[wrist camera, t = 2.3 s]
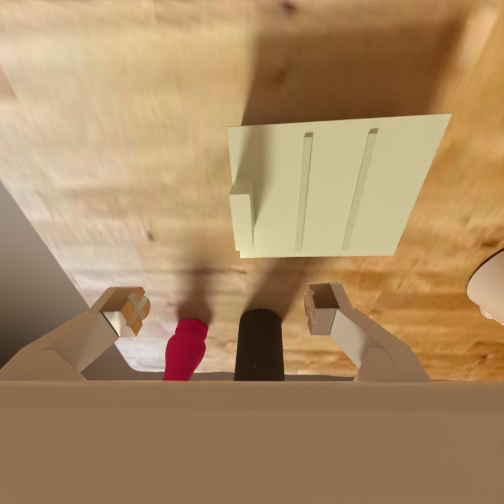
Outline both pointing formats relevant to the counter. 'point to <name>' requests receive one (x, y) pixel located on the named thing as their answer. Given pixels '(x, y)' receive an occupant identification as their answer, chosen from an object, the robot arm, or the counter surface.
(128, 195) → the counter surface
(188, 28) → the counter surface
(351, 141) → the lid
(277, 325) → the container
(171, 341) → the pepper mill
